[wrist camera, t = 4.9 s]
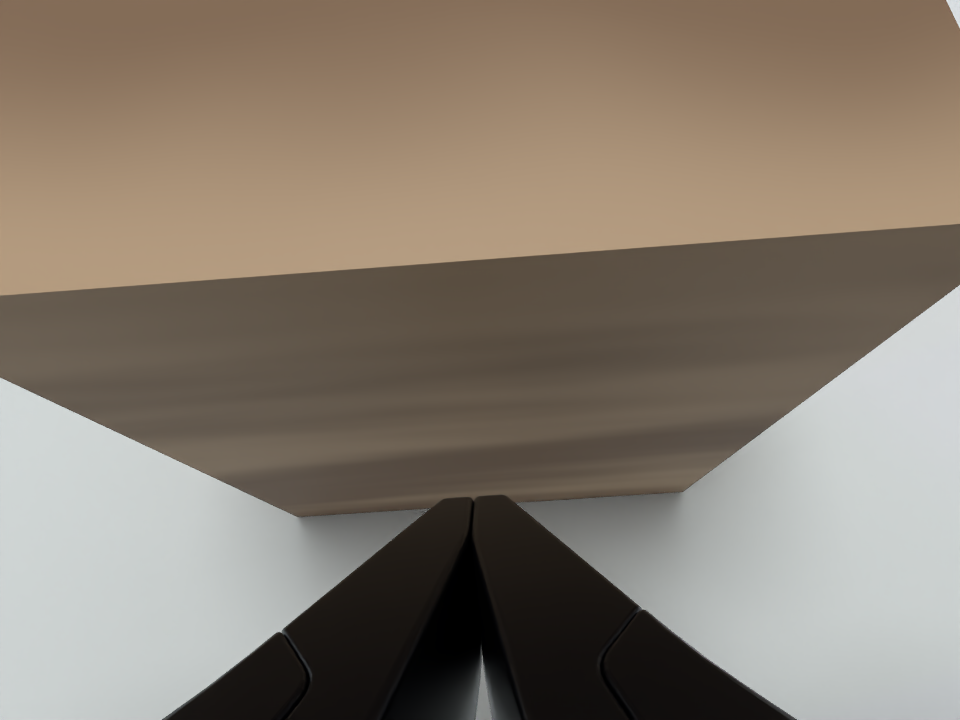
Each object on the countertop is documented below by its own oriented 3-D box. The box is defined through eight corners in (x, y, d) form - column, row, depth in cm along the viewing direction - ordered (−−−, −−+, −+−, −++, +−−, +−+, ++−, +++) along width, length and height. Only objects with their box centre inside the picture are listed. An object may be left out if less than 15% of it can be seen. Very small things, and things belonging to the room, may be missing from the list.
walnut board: (682, 492, 16) (1050, 216, 5) (297, 516, 16) (-151, 306, 5) (657, 349, 18) (897, -101, 7) (305, 374, 18) (-32, -20, 7)
